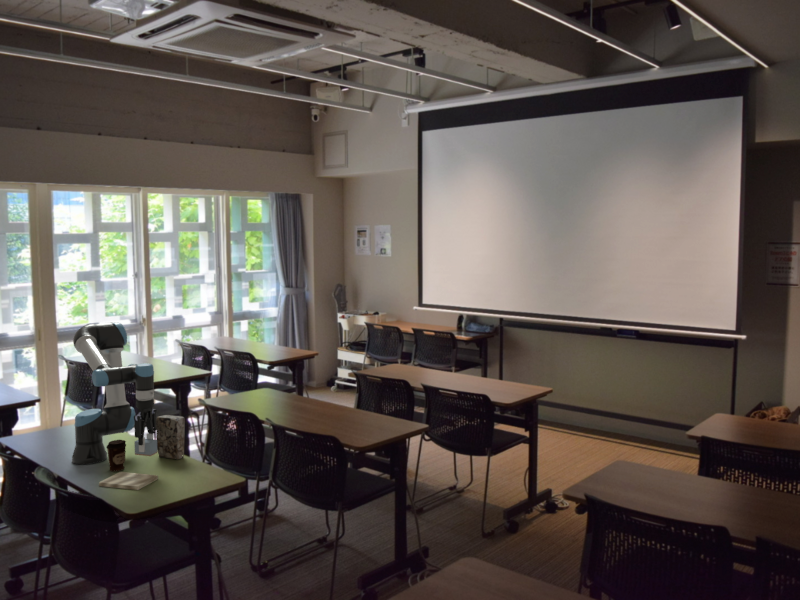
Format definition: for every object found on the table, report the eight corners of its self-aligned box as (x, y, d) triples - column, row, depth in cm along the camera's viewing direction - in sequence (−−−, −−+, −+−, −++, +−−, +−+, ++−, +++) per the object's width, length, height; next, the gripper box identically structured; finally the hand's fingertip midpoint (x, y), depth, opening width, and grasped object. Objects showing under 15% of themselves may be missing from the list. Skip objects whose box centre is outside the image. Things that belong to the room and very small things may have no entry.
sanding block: (134, 454, 298) (134, 441, 298) (141, 451, 303) (141, 438, 302) (150, 456, 296) (150, 442, 296) (157, 452, 301) (157, 439, 301)
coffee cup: (131, 467, 307) (130, 440, 306) (118, 473, 300) (117, 445, 299) (116, 465, 310) (115, 438, 309) (103, 471, 302) (102, 443, 301)
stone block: (186, 456, 324) (185, 415, 323) (178, 460, 318) (177, 419, 316) (163, 454, 328) (162, 413, 327) (154, 458, 321) (153, 417, 320)
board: (98, 485, 284) (98, 482, 284) (120, 475, 298) (120, 471, 297) (138, 490, 279) (138, 486, 279) (158, 478, 293) (157, 475, 293)
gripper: (139, 404, 288) (140, 456, 290) (164, 394, 305) (165, 444, 307) (124, 402, 290) (125, 455, 292) (149, 393, 307) (150, 443, 309)
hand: (146, 449), depth 299 cm, fingers closed on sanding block, 5 cm apart
